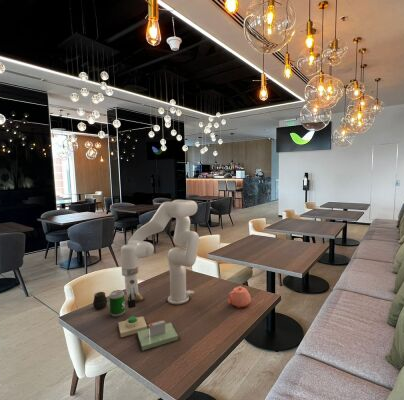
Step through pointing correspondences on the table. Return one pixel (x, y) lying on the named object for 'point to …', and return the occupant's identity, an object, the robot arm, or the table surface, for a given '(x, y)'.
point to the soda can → (117, 303)
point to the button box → (132, 326)
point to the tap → (156, 328)
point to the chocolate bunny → (138, 298)
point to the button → (132, 319)
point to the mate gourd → (99, 300)
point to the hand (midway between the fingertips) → (131, 306)
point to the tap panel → (157, 337)
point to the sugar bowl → (239, 297)
